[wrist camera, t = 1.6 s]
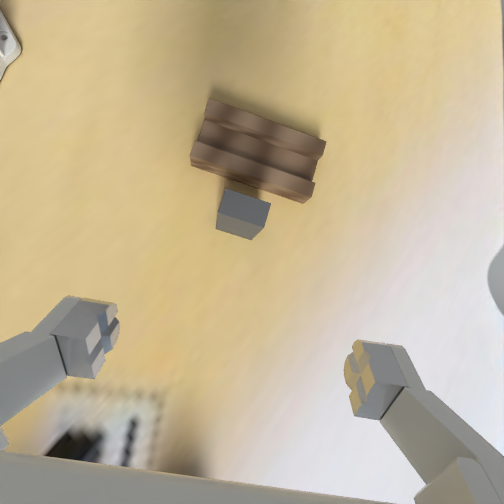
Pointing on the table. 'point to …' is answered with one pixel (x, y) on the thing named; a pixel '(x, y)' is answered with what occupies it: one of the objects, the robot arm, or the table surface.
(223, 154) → the display ledge
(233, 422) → the table surface
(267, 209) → the dark grey rectangular block
